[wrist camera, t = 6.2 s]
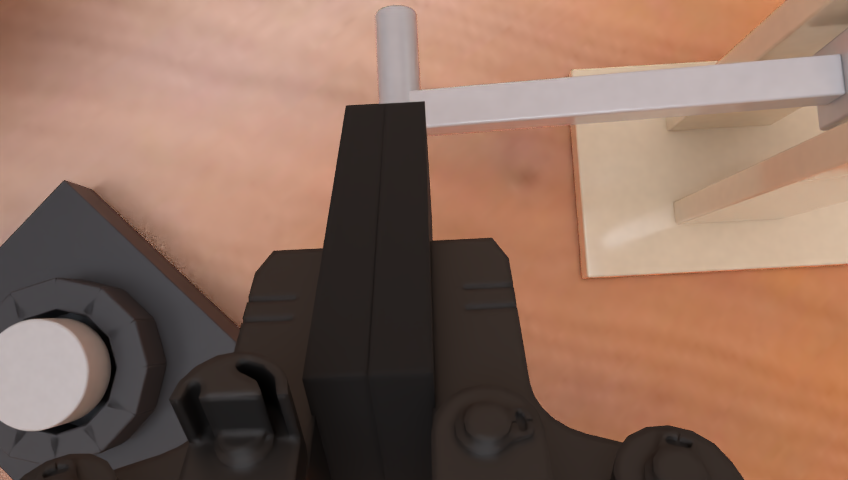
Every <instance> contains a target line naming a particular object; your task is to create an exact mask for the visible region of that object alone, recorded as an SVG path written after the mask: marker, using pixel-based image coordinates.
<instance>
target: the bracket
mask: <svg viewBox="0 0 848 480" xmlns="http://www.w3.org/2000/svg"><path fill="white" fill-rule="evenodd" d="M847 28H848V0H786V1H785V2H784V3H782V4H781V5H780V6H779V7H778V8H777V9H776V10H775V11H774V12H772V13H771V14H770V15H769V16H768V17H767V18H766V19H765V20H764V21H763V22H761V23H760V24H759V25H758V26H757V27H756V28H755V29H754V30H753V31H751V32H750V33H749V34H748V35H747V36H746V37H745V38H744V39H743V40H741V41H740V42H739V43H738V44H737V45H736V46H735V47H734V48H733V49H731V50H730V51H729V52H728V53H727V54H726V55H725V56H724V57H723V58H721V59H720V60H719V61H704V62H688V63H671V64H654V65H638V66H621V67H605V68H588V69H573V70H571V72H570V74H569V76H568V77H575V76H587V75H598V74H610V73H622V72H633V71H645V70H657V69H668V68H680V67H692V66H703V65H715V64H727V63H738V62H750V61H762V60H773V59H785V58H797V57H808V56H813V55H814V54H815V53H817V52H818V51H819V50H820V49H822V48H823V47H824V46H825V45H827V44H828V43H829V42H830V41H832V40H833V39H834V38H835V37H837V36H838V35H839V34H840V33H842V32H843V31H844V30H845V29H847ZM570 128H571V141H572V154H573V167H574V181H575V194H576V207H577V220H578V233H579V247H580V260H581V273H582V278H584V279H588V278H607V277H626V276H645V275H664V274H683V273H702V272H721V271H740V270H759V269H777V268H796V267H815V266H834V265H848V121H847V122H845V123H843V124H841V125H838V126H836V127H834V128H832V129H830V130H828V131H822V130H820V128H819V120H818V112H817V106H807V107H794V108H781V109H769V110H756V111H743V112H731V113H718V114H705V115H692V116H680V117H667V118H654V119H641V120H629V121H616V122H603V123H590V124H578V125H570Z"/></svg>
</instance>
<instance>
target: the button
mask: <svg viewBox="0 0 848 480" xmlns="http://www.w3.org/2000/svg"><path fill="white" fill-rule="evenodd" d="M110 376H111V360H110V355H109V352H108V349H107V347H106V345H105V343H104V341H103V340H102V338H101V337H100V336H99V334H98V333H97V332H96V331H95V330H93V329H92V328H91V327H90V326H88V325H86V324H85V323H82V322H80V321H77V320H74V319H68V318H44V319H29V320H25V321H21V322H18V323H16V324H14V325H12V326H10V327H8V328H7V329H6V330H4V331H3V332H2V333H1V334H0V421H2V422H3V423H5V424H6V425H8V426H10V427H13V428H15V429H19V430H23V431H41V430H46V429H49V428H53V427H56V426H59V425H63V424H66V423H69V422H72V421H75V420H77V419H80V418H82V417H83V416H85V415H86V414H88V413H89V412H91V411H92V410H93V409H94V408H95V407H96V406H97V404H98V403H99V402H100V401H101V399H102V398H103V396H104V394H105V392H106V390H107V388H108V384H109V381H110Z"/></svg>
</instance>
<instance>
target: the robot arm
mask: <svg viewBox="0 0 848 480" xmlns="http://www.w3.org/2000/svg"><path fill="white" fill-rule="evenodd" d="M169 401H170V403H171V405H172V408H173V410H174V412H175V414H176V416H177V418H178V420H179V422H180V425H181V427H182V429H183V431H184V433H185V435H186V437H187V440H188V441H186V442H185V443H183V444H182V445H180V446H179V447H176V448H174V449H172V450H169V451H167V452H165V453H162V454H160V455H157V456H154V457H151V458H148V459H145V460H142V461H139V462H136V463H132V464H129V465H126V466H123V467H120V468H117V469H114V470H113V469H112V467H111V466H110V464H109V463H108V461H106V460H104V459H102V458H100V457H97V456H95V455H93V454H67V455H64V456H61V457H58V458H55V459H52V460H49V461H46V462H44V463H43V464H41V465H39V466H38V467H36V468H35V469H33V470H31V471H30V472H28V473H27V474H25V475H24V476H23V477H22V478H21V479H20V480H744V479H743V477H742V476H741V474H740V473H739V472H738V470H737V469H736V467H735V466H734V464H733V463H732V462H731V461H730V460H729V459H728V457H727V456H726V455H725V454H724V453H723V452H722V451H721V450H720V449H719V448H718V447H717V446H716V445H715V444H714V443H712V442H710V441H709V440H707V439H705V438H703V437H702V436H700V435H698V434H696V433H695V432H693V431H690V430H685V429H681V428H677V427H673V426H669V425H667V426H655V427H645V428H643V429H641V430H639V431H637V432H635V433H633V434H631V435H629V436H628V437H627V438H626V439H625V441H624V442H623V443H622V442H618V441H614V440H610V439H606V438H602V437H598V436H593V435H589V434H585V433H583V432H580V431H577V430H574V429H571V428H569V427H567V426H565V425H564V424H562V423H560V422H559V421H557V420H555V419H554V418H553V417H551V416H550V415H549V414H548V413H547V412H546V411H545V410H544V409H543V408H542V407H541V405H540V404H539V402H538V401H537V399H536V398H535V396H534V394H533V391H532V388H531V385H530V381H529V375H528V369H527V363H526V358H525V352H524V346H523V340H522V334H521V328H520V322H519V316H518V310H517V308H516V299H515V293H514V288H513V281H512V275H511V269H510V263H509V258H508V257H507V256H506V254H505V253H504V252H503V251H502V249H501V248H500V247H499V246H498V245H497V243H496V242H495V241H494V240H493V238H479V239H459V240H439V241H433V240H432V214H431V197H430V180H429V163H428V146H427V130H426V113H425V101H420V102H402V103H384V104H366V105H348V106H346V109H345V115H344V121H343V128H342V134H341V140H340V146H339V153H338V159H337V165H336V171H335V177H334V184H333V190H332V196H331V202H330V208H329V215H328V221H327V227H326V233H325V240H324V246H323V248H321V249H301V250H281V251H273V252H272V254H271V255H270V256H269V257H268V258H267V259H266V261H265V262H264V263H263V264H262V265H261V267H260V268H259V269H258V270H257V271H256V273H255V275H254V279H253V283H252V287H251V290H250V294H249V303H247V305H246V309H245V312H244V316H243V323H241V327H240V331H239V334H238V338H237V342H236V346H235V349H234V352H232V353H227V354H222V355H217V356H215V357H213V358H211V359H209V360H207V361H205V362H203V363H201V364H199V365H197V366H196V367H194V368H193V369H192V370H191V371H190V372H189V373H188V374H187V375H185V376H184V377H183V378H182V379H181V380H180V381H179V382H178V384H177V386H176V388H175V389H174V391H173V393H172V394H171V396H170V398H169Z"/></svg>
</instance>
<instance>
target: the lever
mask: <svg viewBox="0 0 848 480" xmlns="http://www.w3.org/2000/svg"><path fill="white" fill-rule="evenodd" d="M375 30H376V52H377V74H378V95H379V104H384V103H402V102H420V101H425V113H426V130H427V136H438V135H450V134H463V133H476V132H489V131H501V130H514V129H527V128H540V127H552V126H565V125H578V124H590V123H603V122H616V121H629V120H641V119H654V118H667V117H680V116H692V115H705V114H718V113H731V112H743V111H756V110H769V109H781V108H794V107H807V106H817V112H818V120H819V128H820V130H822V131H828V130H830V129H832V128H834V127H836V126H838V125H841V124H843V123H845V122H847V121H848V28H847V29H845V30H844V31H843V32H842V33H840V34H839V35H838V36H837V37H835V38H834V39H833V40H832V41H830V42H829V43H828V44H827V45H825V46H824V47H823V48H822V49H820V50H819V51H818V52H817V53H815V54H814V55H813V56H808V57H797V58H785V59H773V60H762V61H750V62H738V63H727V64H715V65H703V66H692V67H680V68H668V69H657V70H645V71H633V72H622V73H610V74H598V75H587V76H575V77H564V78H552V79H540V80H529V81H517V82H505V83H494V84H482V85H470V86H459V87H447V88H435V89H424V90H421V86H420V67H419V48H418V29H417V14H416V12H415V11H414V10H413V9H412V8H410V7H407V6H401V5H393V6H387V7H384V8H381V9H379V10H378V11H377V12H376V15H375Z"/></svg>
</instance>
